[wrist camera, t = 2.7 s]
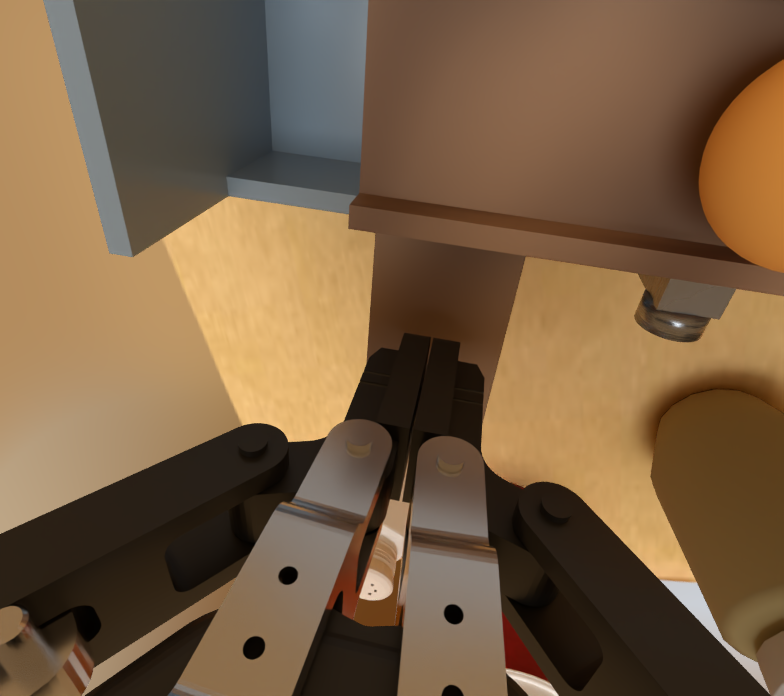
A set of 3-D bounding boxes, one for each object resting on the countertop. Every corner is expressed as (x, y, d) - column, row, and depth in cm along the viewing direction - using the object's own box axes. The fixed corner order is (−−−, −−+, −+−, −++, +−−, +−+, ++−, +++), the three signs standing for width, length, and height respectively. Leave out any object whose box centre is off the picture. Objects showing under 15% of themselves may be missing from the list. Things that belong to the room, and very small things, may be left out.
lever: (1317, 6, 9) (1841, -3, 5) (866, 478, 16) (967, 604, 12) (384, -74, 11) (326, -119, 7) (357, 382, 18) (322, 469, 14)
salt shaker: (449, 421, 33) (427, 574, 24) (430, 474, 36) (405, 627, 27) (370, 399, 33) (319, 543, 24) (358, 454, 36) (310, 599, 27)
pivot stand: (776, -80, 17) (1149, -217, 7) (658, 212, 23) (773, 357, 13) (627, -92, 18) (785, -234, 8) (550, 196, 23) (582, 325, 14)
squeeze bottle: (829, 418, 27) (1210, 888, 12) (706, 492, 32) (880, 900, 17) (716, 345, 26) (988, 767, 11) (606, 433, 31) (700, 815, 16)
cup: (531, -110, 18) (563, -269, 8) (475, 192, 24) (456, 311, 14) (244, -132, 19) (-34, -293, 9) (262, 162, 25) (109, 253, 15)
